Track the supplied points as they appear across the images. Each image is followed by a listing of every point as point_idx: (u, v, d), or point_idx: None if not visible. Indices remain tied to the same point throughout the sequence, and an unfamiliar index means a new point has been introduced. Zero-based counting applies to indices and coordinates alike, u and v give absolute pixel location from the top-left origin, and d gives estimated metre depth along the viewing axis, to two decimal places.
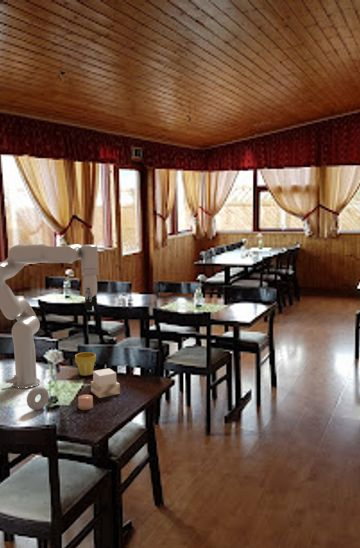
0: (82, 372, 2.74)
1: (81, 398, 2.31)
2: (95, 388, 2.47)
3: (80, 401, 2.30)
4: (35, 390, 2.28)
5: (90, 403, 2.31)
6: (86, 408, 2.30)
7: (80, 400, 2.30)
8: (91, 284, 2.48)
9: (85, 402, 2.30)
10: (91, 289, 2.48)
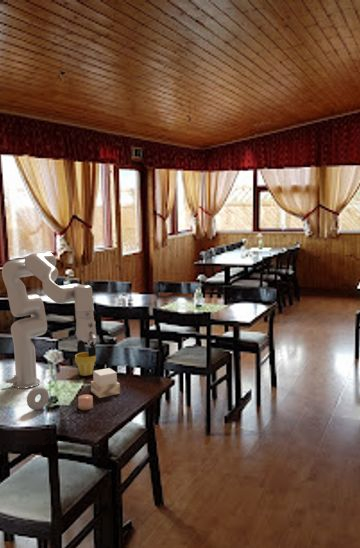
0: (82, 372, 2.74)
1: (81, 398, 2.31)
2: (95, 388, 2.47)
3: (80, 401, 2.30)
4: (35, 390, 2.28)
5: (90, 403, 2.31)
6: (86, 408, 2.30)
7: (80, 400, 2.30)
8: None
9: (85, 402, 2.30)
10: None
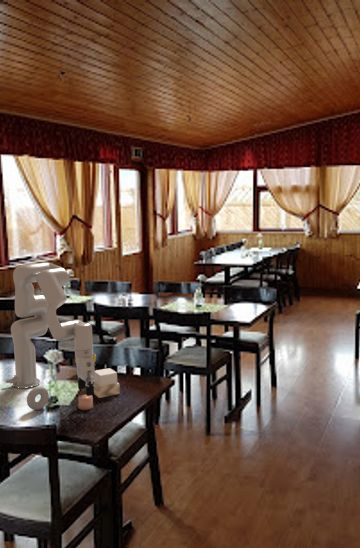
0: None
1: (81, 398, 2.31)
2: (95, 388, 2.47)
3: (80, 401, 2.30)
4: (35, 390, 2.28)
5: (90, 403, 2.31)
6: (86, 408, 2.30)
7: (80, 400, 2.30)
8: None
9: (85, 402, 2.30)
10: None
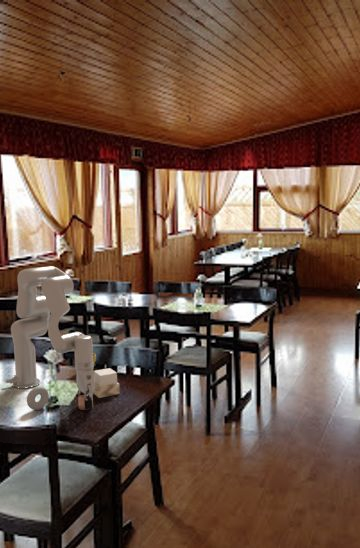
0: None
1: (81, 398, 2.31)
2: (95, 388, 2.47)
3: (80, 401, 2.30)
4: (35, 390, 2.28)
5: None
6: None
7: (80, 400, 2.30)
8: None
9: None
10: None
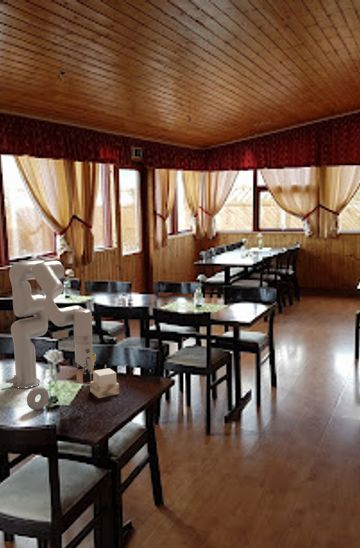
0: None
1: (79, 372, 2.30)
2: (94, 388, 2.47)
3: (78, 375, 2.29)
4: (35, 390, 2.28)
5: None
6: None
7: (78, 374, 2.29)
8: None
9: None
10: None
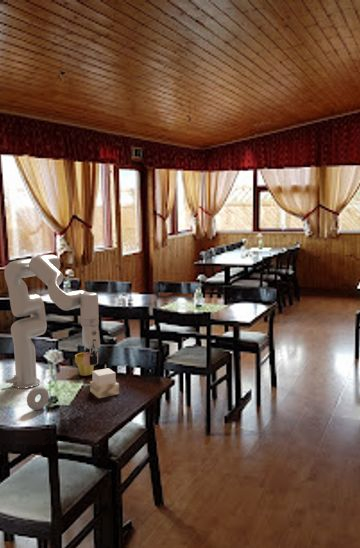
0: (82, 372, 2.74)
1: (86, 354, 2.35)
2: (94, 389, 2.46)
3: (85, 357, 2.34)
4: (35, 390, 2.28)
5: None
6: None
7: (85, 356, 2.34)
8: None
9: None
10: None
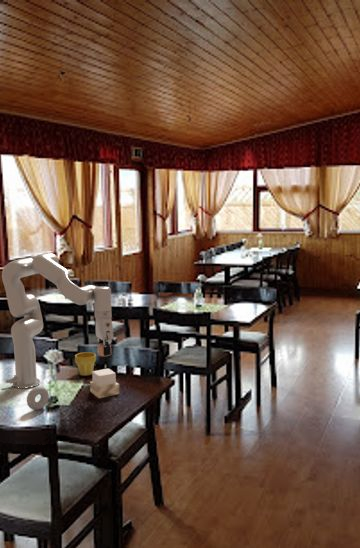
0: (82, 372, 2.74)
1: (100, 345, 2.46)
2: (95, 389, 2.46)
3: (99, 348, 2.45)
4: (35, 390, 2.28)
5: None
6: None
7: (99, 347, 2.45)
8: None
9: None
10: None
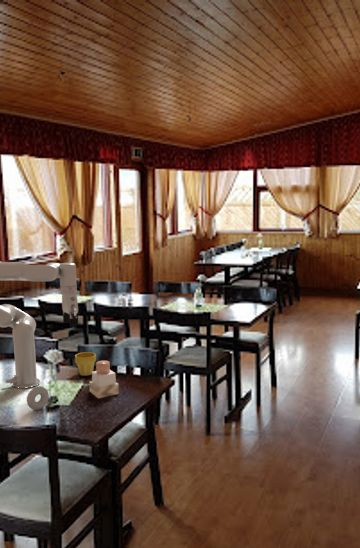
0: (82, 372, 2.74)
1: (99, 363, 2.47)
2: (94, 389, 2.46)
3: (98, 366, 2.46)
4: (35, 390, 2.28)
5: (107, 368, 2.47)
6: (104, 372, 2.46)
7: (98, 365, 2.46)
8: None
9: (103, 367, 2.45)
10: None
